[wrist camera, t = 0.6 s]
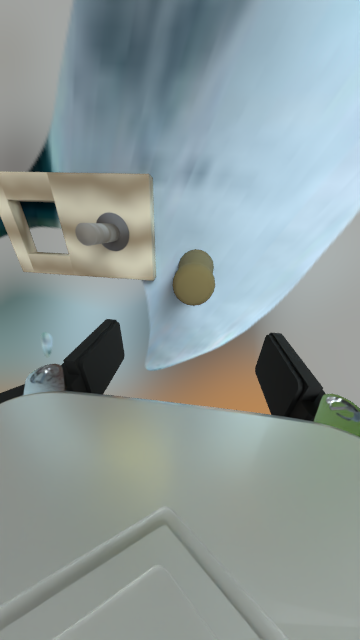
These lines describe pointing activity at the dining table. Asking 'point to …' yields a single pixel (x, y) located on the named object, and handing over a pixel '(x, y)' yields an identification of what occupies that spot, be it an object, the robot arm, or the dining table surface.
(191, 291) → the olive rounded piece
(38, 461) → the robot arm
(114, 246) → the beige panel with knob
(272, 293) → the dining table surface
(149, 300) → the dining table surface
